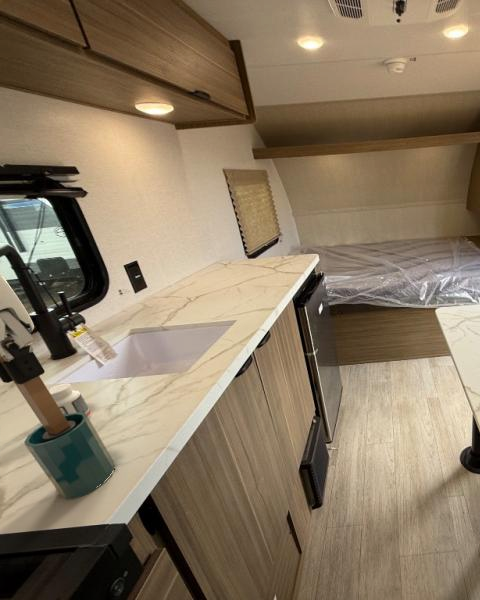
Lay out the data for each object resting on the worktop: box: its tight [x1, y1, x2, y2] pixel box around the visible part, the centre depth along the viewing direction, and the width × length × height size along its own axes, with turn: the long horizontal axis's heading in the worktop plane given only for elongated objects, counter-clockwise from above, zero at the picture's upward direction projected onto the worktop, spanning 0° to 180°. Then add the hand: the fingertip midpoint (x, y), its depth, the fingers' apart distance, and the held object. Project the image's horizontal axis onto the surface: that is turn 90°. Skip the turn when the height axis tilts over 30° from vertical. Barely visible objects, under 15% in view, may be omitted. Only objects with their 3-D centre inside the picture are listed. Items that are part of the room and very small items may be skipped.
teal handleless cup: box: [24, 412, 116, 500], centre depth 55 cm, size 7×7×12 cm
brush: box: [0, 342, 77, 442], centre depth 51 cm, size 4×4×22 cm
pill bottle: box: [48, 382, 92, 419], centre depth 71 cm, size 5×5×9 cm
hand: (24, 377), depth 49 cm, fingers closed on brush, 2 cm apart
